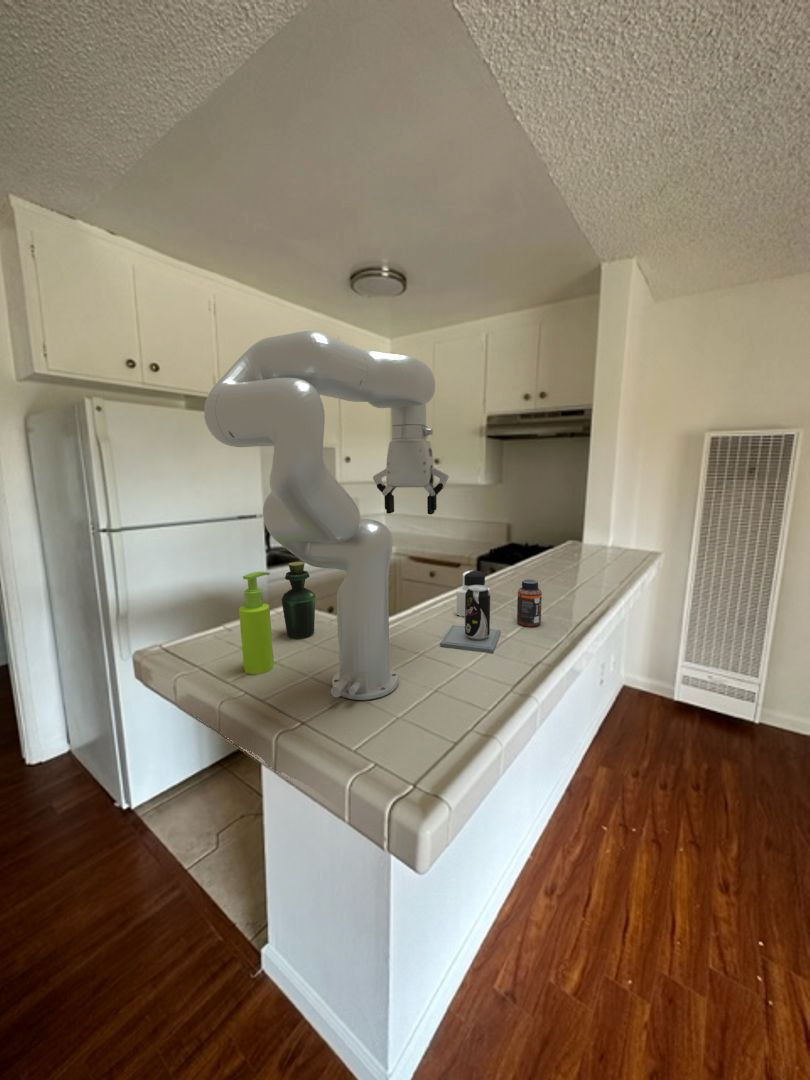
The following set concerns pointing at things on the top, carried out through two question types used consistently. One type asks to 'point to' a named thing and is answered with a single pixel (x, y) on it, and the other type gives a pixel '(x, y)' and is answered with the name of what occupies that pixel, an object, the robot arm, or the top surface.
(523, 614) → the supplement bottle
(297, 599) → the potion bottle
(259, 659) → the soap dispenser
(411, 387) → the robot arm
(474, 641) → the plate
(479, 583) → the medicine bottle
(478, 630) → the beverage can
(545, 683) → the top surface
